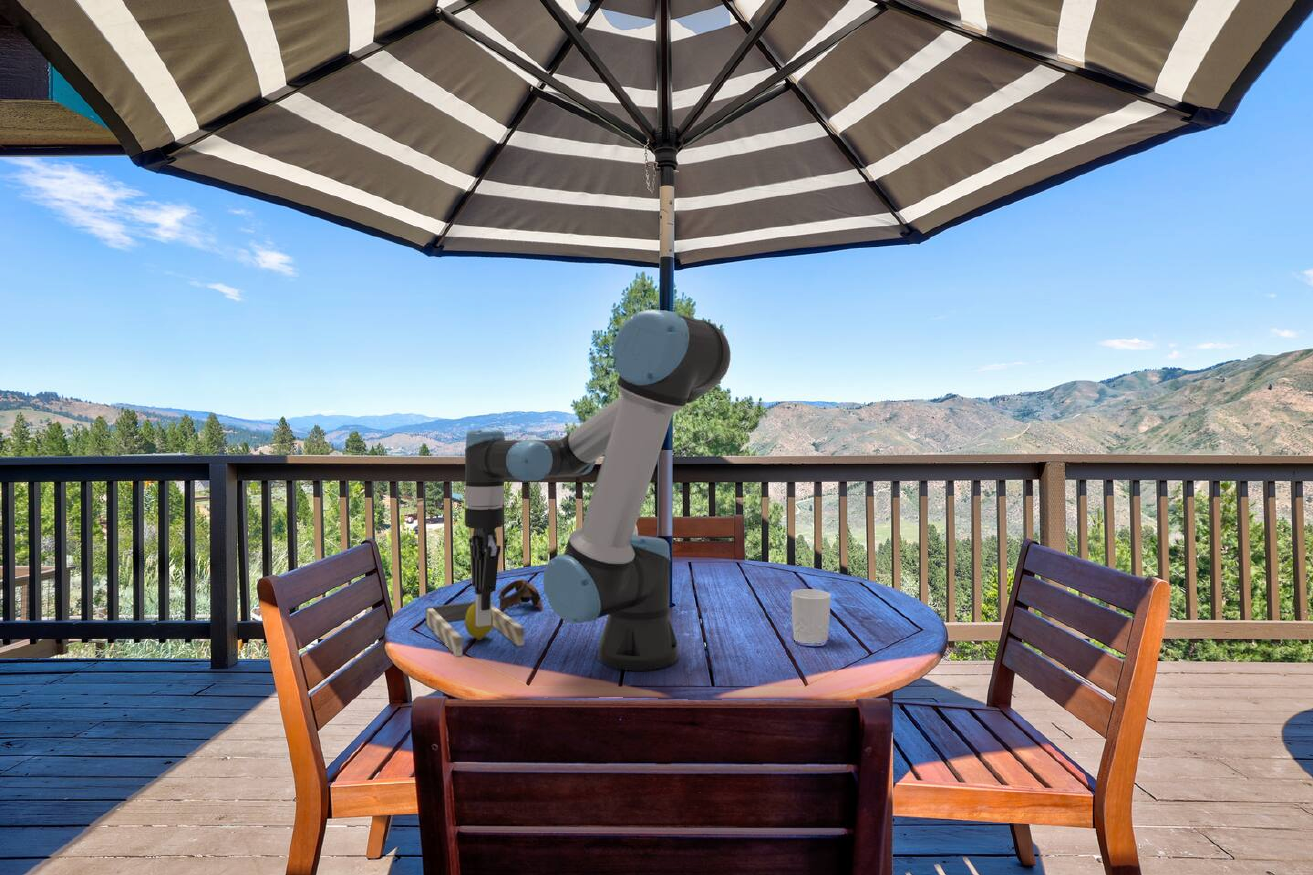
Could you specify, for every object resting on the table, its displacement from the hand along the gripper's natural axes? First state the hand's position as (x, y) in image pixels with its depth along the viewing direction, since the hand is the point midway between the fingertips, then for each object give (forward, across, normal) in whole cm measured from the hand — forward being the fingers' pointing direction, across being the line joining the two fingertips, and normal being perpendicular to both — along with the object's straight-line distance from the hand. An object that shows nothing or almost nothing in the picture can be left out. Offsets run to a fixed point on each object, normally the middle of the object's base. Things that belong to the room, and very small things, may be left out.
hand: (483, 624), depth 131 cm
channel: (+4, +8, 0) cm, 9 cm away
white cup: (+4, -32, -58) cm, 66 cm away
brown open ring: (+4, +21, -16) cm, 27 cm away
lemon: (+4, +3, 0) cm, 5 cm away
